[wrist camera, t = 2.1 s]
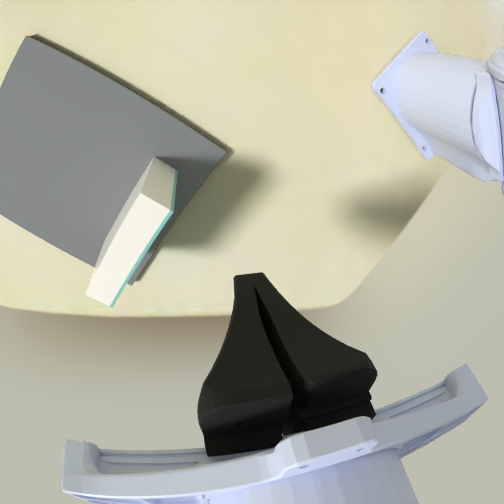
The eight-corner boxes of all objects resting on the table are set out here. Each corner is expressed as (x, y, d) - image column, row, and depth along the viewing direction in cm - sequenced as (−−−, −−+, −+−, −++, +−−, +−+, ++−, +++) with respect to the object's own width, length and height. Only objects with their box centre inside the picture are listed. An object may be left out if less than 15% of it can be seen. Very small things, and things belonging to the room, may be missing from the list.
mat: (225, 150, 20) (226, 152, 20) (132, 281, 25) (131, 285, 25) (29, 35, 12) (25, 35, 11) (-27, 191, 17) (-31, 193, 16)
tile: (177, 171, 20) (173, 211, 15) (125, 251, 23) (112, 307, 18) (154, 156, 19) (140, 192, 14) (104, 240, 22) (85, 294, 17)
